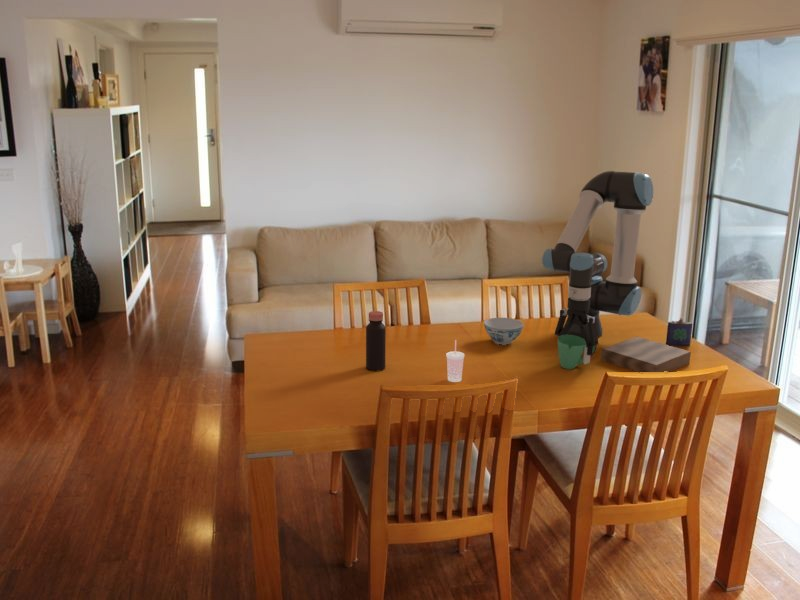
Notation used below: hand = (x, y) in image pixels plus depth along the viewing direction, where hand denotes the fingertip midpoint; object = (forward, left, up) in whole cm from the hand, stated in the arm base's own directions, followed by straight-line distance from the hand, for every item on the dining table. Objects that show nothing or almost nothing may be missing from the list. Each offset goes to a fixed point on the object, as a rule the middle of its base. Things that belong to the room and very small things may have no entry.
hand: (574, 359), depth 269 cm
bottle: (-42, -56, -3) cm, 70 cm away
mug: (0, 0, -3) cm, 3 cm away
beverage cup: (-17, -42, -3) cm, 45 cm away
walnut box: (+13, +24, -3) cm, 27 cm away
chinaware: (-34, 0, -3) cm, 34 cm away
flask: (+10, +51, -3) cm, 52 cm away
